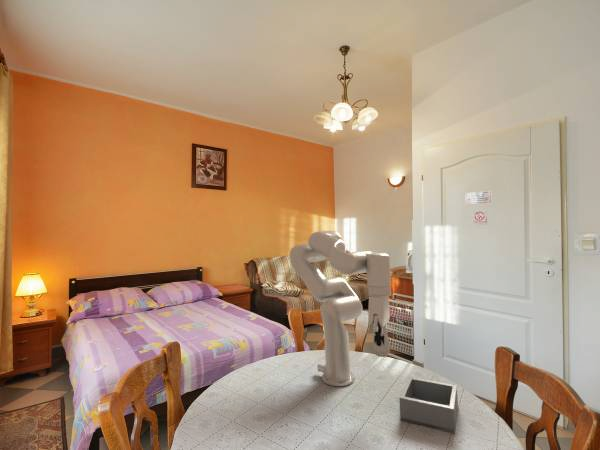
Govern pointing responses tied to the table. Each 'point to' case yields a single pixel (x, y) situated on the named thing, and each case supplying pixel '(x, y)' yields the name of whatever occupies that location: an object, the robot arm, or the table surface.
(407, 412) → the bin
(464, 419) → the table surface
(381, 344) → the salt shaker
